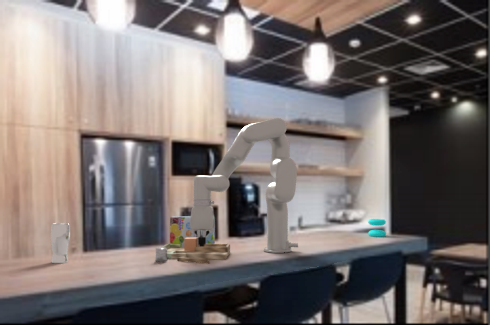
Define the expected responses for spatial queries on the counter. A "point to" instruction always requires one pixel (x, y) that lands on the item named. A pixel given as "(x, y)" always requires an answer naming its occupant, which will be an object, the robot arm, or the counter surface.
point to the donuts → (377, 223)
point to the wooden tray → (199, 251)
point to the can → (161, 254)
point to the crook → (192, 259)
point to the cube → (190, 243)
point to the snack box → (185, 231)
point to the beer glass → (60, 242)
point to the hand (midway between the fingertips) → (202, 246)
